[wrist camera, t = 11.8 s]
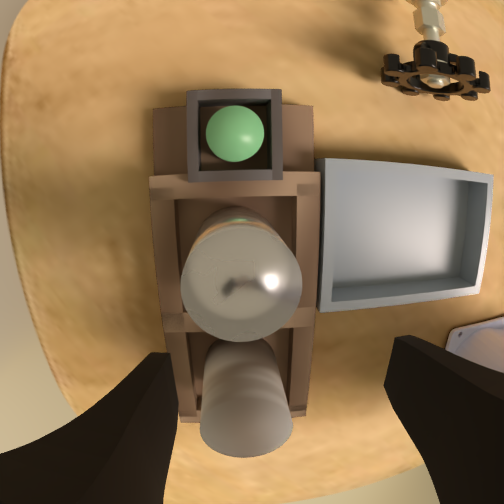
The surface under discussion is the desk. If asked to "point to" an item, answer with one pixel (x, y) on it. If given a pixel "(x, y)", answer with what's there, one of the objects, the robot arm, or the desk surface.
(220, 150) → the button
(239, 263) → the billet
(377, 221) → the tote
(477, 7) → the desk surface
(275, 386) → the brown compartment tray
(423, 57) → the valve
